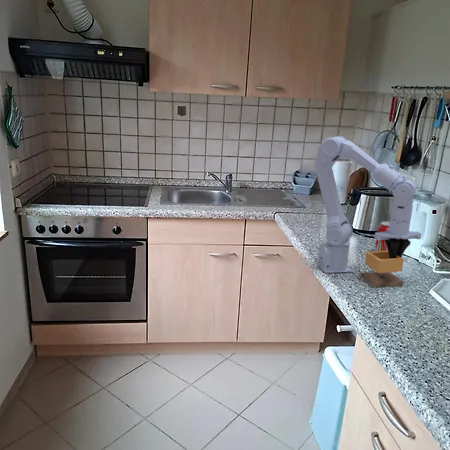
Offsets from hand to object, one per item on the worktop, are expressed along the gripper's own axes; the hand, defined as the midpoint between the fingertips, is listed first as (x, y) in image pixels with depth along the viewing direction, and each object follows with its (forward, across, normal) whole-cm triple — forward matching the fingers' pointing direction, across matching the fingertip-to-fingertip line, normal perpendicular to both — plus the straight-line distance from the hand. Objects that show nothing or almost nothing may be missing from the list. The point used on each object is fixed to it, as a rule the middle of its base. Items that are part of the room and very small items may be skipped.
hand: (394, 260), depth 131 cm
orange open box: (+2, -3, 0) cm, 4 cm away
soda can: (+7, +12, +24) cm, 28 cm away
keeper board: (+7, -4, 0) cm, 8 cm away
